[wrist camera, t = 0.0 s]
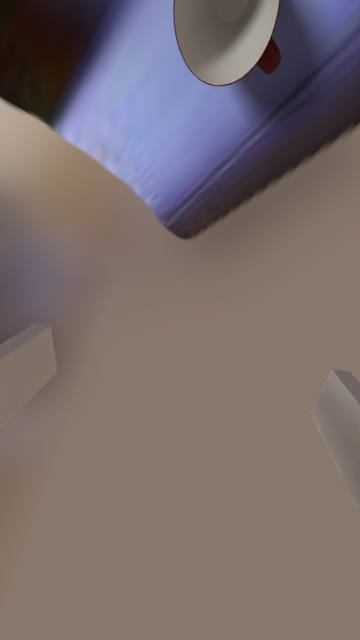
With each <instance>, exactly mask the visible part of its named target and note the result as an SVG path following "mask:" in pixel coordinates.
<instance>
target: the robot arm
mask: <svg viewBox="0 0 360 640" xmlns="http://www.w3.org/2000/svg"><path fill="white" fill-rule="evenodd" d="M56 373H57V366H56V359H55V353H54V347H53V340H52V333H51V327H50V326H48V325H41V324H34V325H33V326H31V327H29V328H28V329H26V330H24V331H23V332H21V333H19V334H18V335H16V336H15V337H13V338H11V339H9V340H8V341H6V342H5V343H3V344H1V345H0V429H1V428H2V427H3V426H4V425H5V424H6V423H7V422H8V421H9V420H10V419H11V418H12V417H13V416H14V415H15V414H16V413H17V412H18V411H19V410H20V409H21V408H22V407H23V406H24V405H25V404H26V403H27V402H28V401H29V400H30V399H31V398H32V397H33V396H34V395H35V394H36V393H37V392H38V391H39V390H40V389H41V388H42V387H43V386H44V385H45V384H46V383H47V382H48V381H49V380H50V379H51V378H52V377H53V376H54V375H55V374H56ZM311 416H312V418H313V420H314V422H315V424H316V426H317V428H318V430H319V432H320V434H321V436H322V438H323V440H324V442H325V445H326V446H327V449H328V451H329V453H330V455H331V457H332V459H333V461H334V463H335V465H336V467H337V469H338V471H339V473H340V475H341V477H342V479H343V481H344V483H345V485H346V487H347V489H348V491H349V493H350V495H351V498H352V500H353V502H354V504H355V506H356V507H357V510H358V512H359V514H360V383H359V382H358V380H357V379H356V378H355V377H354V376H353V375H352V373H351V372H348V371H341V370H335V369H332V370H331V372H330V374H329V376H328V379H327V381H326V383H325V385H324V387H323V389H322V392H321V394H320V396H319V398H318V400H317V402H316V405H315V407H314V409H313V411H312V413H311Z"/></svg>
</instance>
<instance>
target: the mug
mask: <svg viewBox="0 0 360 640" xmlns="http://www.w3.org/2000/svg"><path fill="white" fill-rule="evenodd" d="M279 6H280V0H174V10H173V15H174V28H175V34H176V39H177V44H178V47H179V50H180V53H181V55H182V57H183V60H184V62H185V63H186V65H187V67H188V68H189V69H190V71H191V72H192V73H193V74H194V75H195V76H196V77H197V78H198V79H199V80H201V81H202V82H204V83H206V84H209V85H212V86H226V85H230V84H233V83H235V82H237V81H239V80H240V79H242V78H243V77H244V76H246V75H247V74H248V73H249V72H250V71H251V70H252V69H253V68H254V66H255V65H256V64H257V65H258V66H259V67H260V68H261V70H263V71H264V72H265V73H266V74H271V73H273V72H274V71H275V70H276V69H277V67H278V65H279V63H280V61H281V54H280V51H279V49H278V47H277V45H276V43H275V42H274V40H273V39H272V34H273V31H274V28H275V25H276V21H277V17H278V12H279Z"/></svg>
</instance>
